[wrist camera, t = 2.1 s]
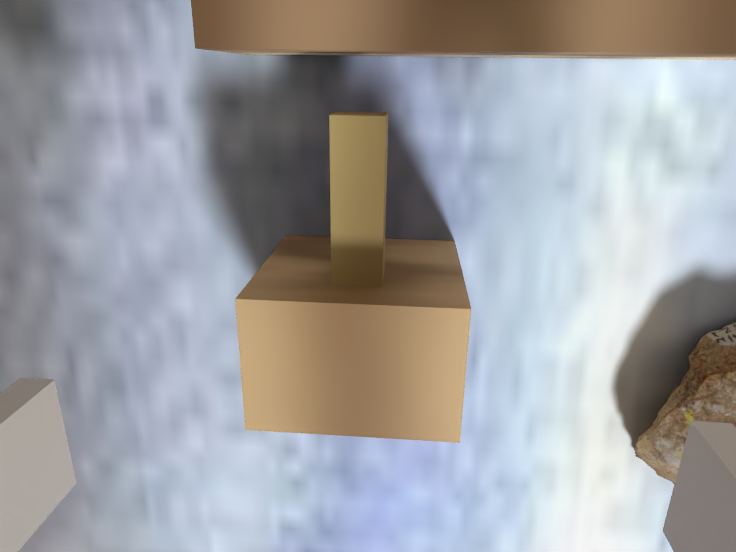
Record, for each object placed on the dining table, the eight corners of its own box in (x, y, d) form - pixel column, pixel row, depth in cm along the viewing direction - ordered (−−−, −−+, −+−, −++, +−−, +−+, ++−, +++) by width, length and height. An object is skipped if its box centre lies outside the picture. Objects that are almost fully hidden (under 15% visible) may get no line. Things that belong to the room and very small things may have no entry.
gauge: (290, 334, 21) (245, 429, 15) (281, 103, 18) (221, 117, 12) (447, 342, 21) (459, 442, 15) (463, 106, 18) (487, 122, 12)
